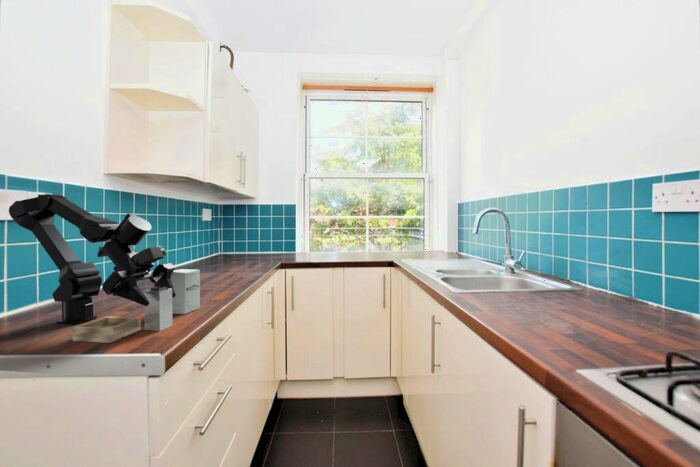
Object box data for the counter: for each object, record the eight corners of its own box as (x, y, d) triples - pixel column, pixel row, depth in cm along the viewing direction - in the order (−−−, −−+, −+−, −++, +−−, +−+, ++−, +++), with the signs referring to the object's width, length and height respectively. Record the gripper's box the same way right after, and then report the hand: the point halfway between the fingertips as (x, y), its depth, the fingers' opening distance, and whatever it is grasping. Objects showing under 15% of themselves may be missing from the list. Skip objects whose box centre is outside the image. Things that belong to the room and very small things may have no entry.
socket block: (144, 329, 85) (144, 288, 85) (157, 324, 89) (157, 285, 89) (159, 330, 84) (159, 289, 84) (172, 325, 88) (172, 286, 88)
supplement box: (185, 314, 99) (184, 272, 98) (163, 313, 100) (163, 271, 100) (200, 308, 106) (200, 269, 105) (180, 307, 107) (180, 268, 107)
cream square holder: (72, 340, 77) (72, 327, 76) (107, 327, 86) (107, 316, 86) (109, 342, 75) (109, 329, 75) (141, 329, 85) (140, 318, 85)
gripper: (111, 237, 78) (152, 286, 76) (168, 235, 96) (203, 274, 94) (84, 270, 79) (124, 318, 78) (145, 261, 98) (179, 300, 96)
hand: (161, 300), depth 86 cm, fingers open, 9 cm apart
